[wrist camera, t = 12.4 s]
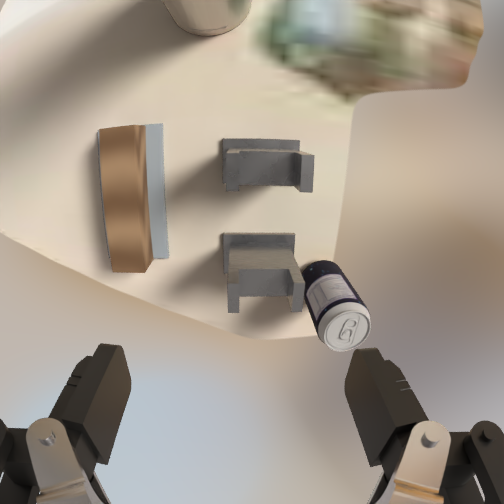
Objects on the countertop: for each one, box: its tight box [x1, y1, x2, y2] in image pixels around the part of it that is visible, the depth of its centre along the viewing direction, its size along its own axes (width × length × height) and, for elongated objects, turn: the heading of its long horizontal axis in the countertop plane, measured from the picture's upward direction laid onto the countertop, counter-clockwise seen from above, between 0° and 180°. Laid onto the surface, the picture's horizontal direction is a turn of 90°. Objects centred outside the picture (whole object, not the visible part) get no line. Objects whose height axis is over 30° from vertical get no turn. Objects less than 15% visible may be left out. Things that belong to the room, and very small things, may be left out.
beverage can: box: [302, 260, 371, 351], centre depth 34 cm, size 6×6×12 cm
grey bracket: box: [223, 233, 305, 313], centre depth 32 cm, size 5×8×11 cm, turn 89°
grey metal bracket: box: [223, 139, 314, 193], centre depth 28 cm, size 5×8×11 cm, turn 89°
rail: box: [99, 125, 153, 273], centre depth 32 cm, size 16×4×4 cm, turn 179°
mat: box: [98, 124, 169, 258], centre depth 34 cm, size 16×8×1 cm, turn 179°
